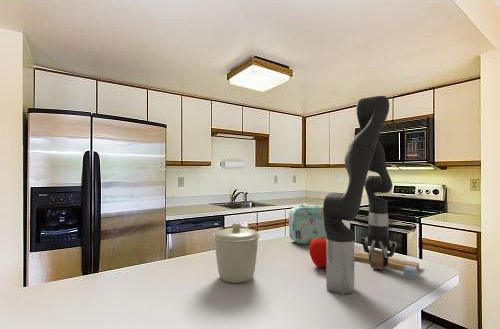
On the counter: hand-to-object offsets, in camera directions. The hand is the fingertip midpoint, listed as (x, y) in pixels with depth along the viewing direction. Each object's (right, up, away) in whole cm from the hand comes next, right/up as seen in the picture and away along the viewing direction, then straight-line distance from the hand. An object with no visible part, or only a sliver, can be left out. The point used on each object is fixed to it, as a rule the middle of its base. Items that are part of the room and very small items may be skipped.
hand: (378, 264), depth 114 cm
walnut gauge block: (0, -1, 0) cm, 1 cm away
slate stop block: (+9, -2, -8) cm, 12 cm away
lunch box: (-19, -3, +42) cm, 46 cm away
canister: (-59, -2, -9) cm, 60 cm away
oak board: (+5, -2, +6) cm, 8 cm away
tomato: (-23, -2, +2) cm, 23 cm away
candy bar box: (-57, -2, +12) cm, 58 cm away
